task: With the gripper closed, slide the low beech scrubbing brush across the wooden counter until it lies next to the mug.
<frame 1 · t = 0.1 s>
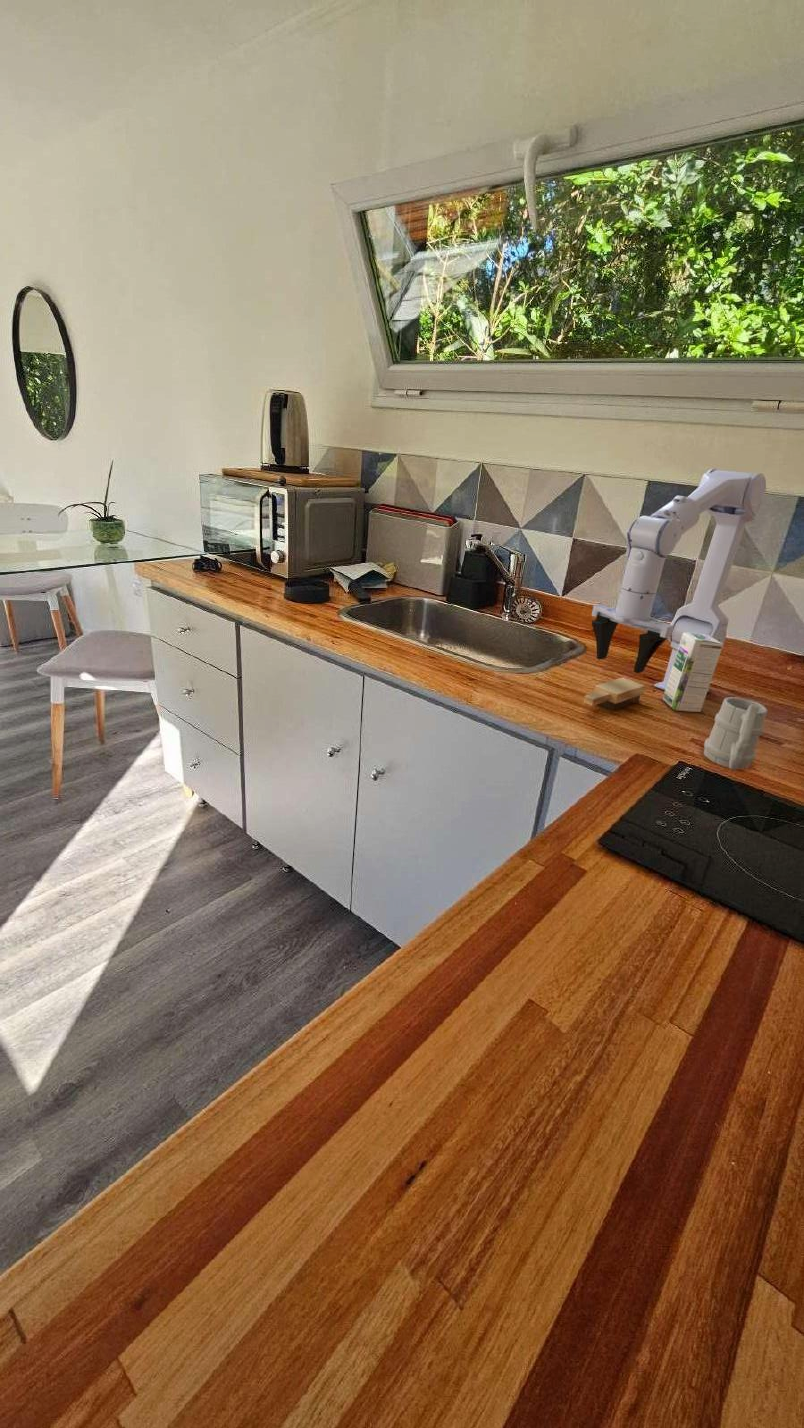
hand: (619, 664, 107), 10 cm above the worktop, tool pointing down, fingers open, 7 cm apart
scrub brush: (616, 702, 118), on the worktop
syrup box: (680, 707, 120), on the worktop
mug: (727, 764, 97), on the worktop
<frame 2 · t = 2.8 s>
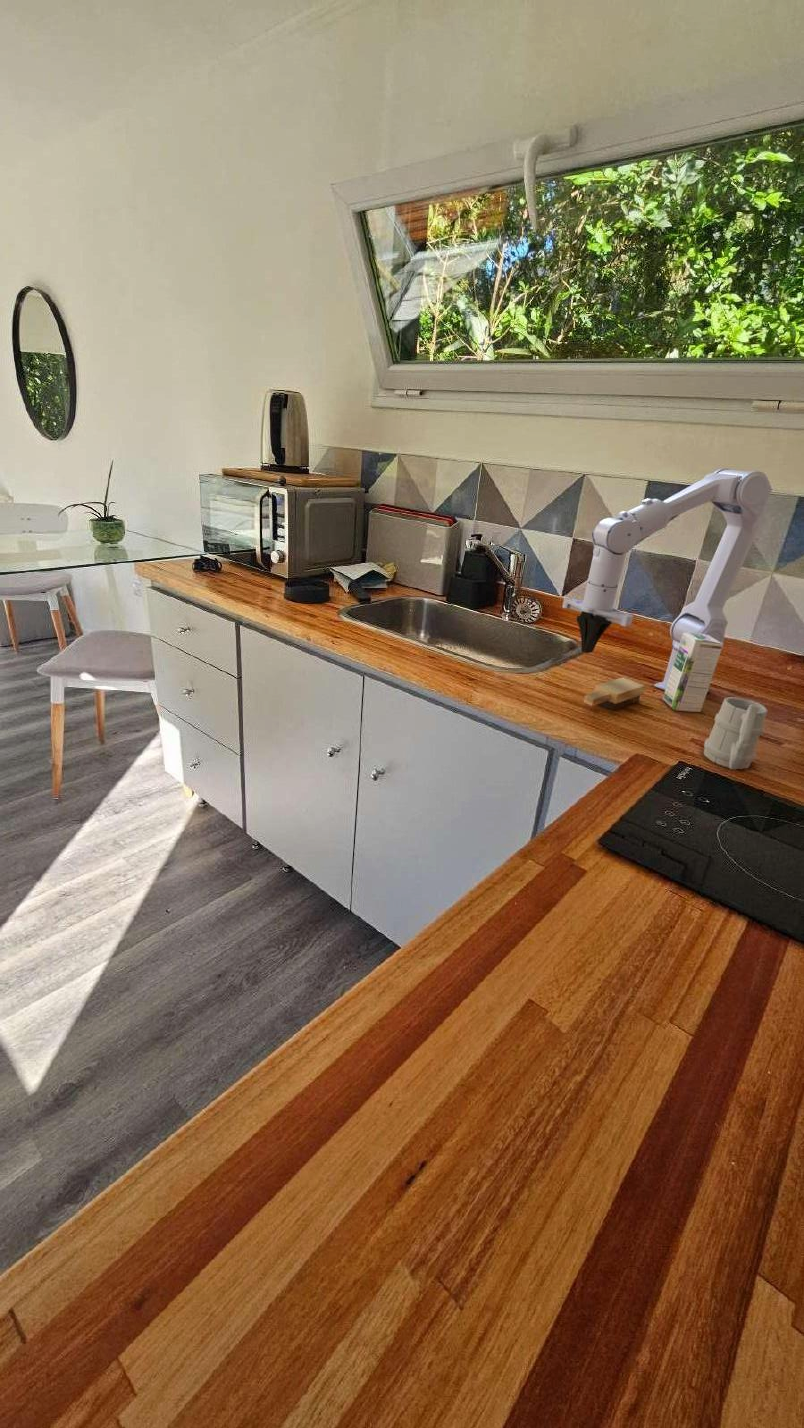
hand: (587, 651, 120), 8 cm above the worktop, tool pointing down, fingers closed
nothing on the worktop moved.
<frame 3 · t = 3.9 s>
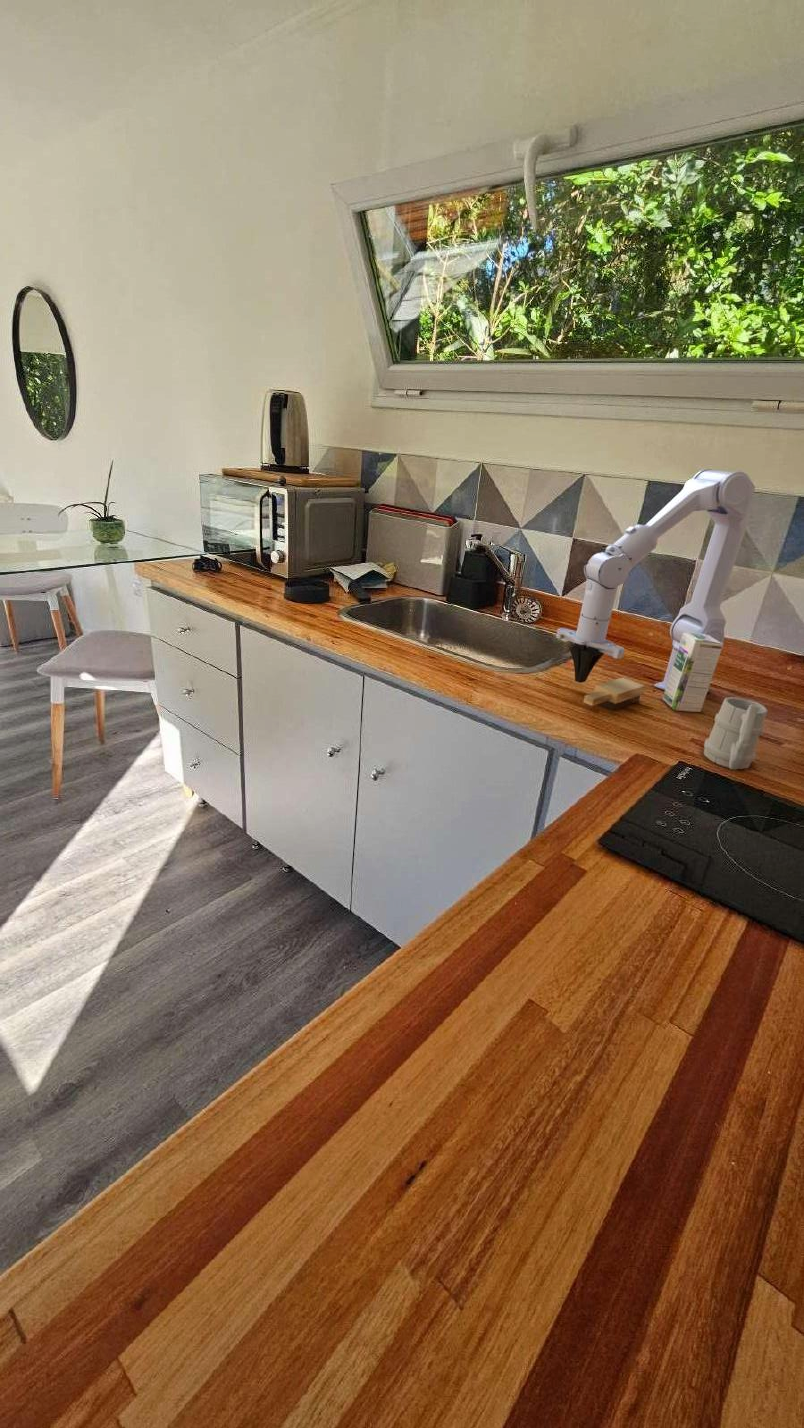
hand: (580, 681, 122), 2 cm above the worktop, tool pointing down, fingers closed
nothing on the worktop moved.
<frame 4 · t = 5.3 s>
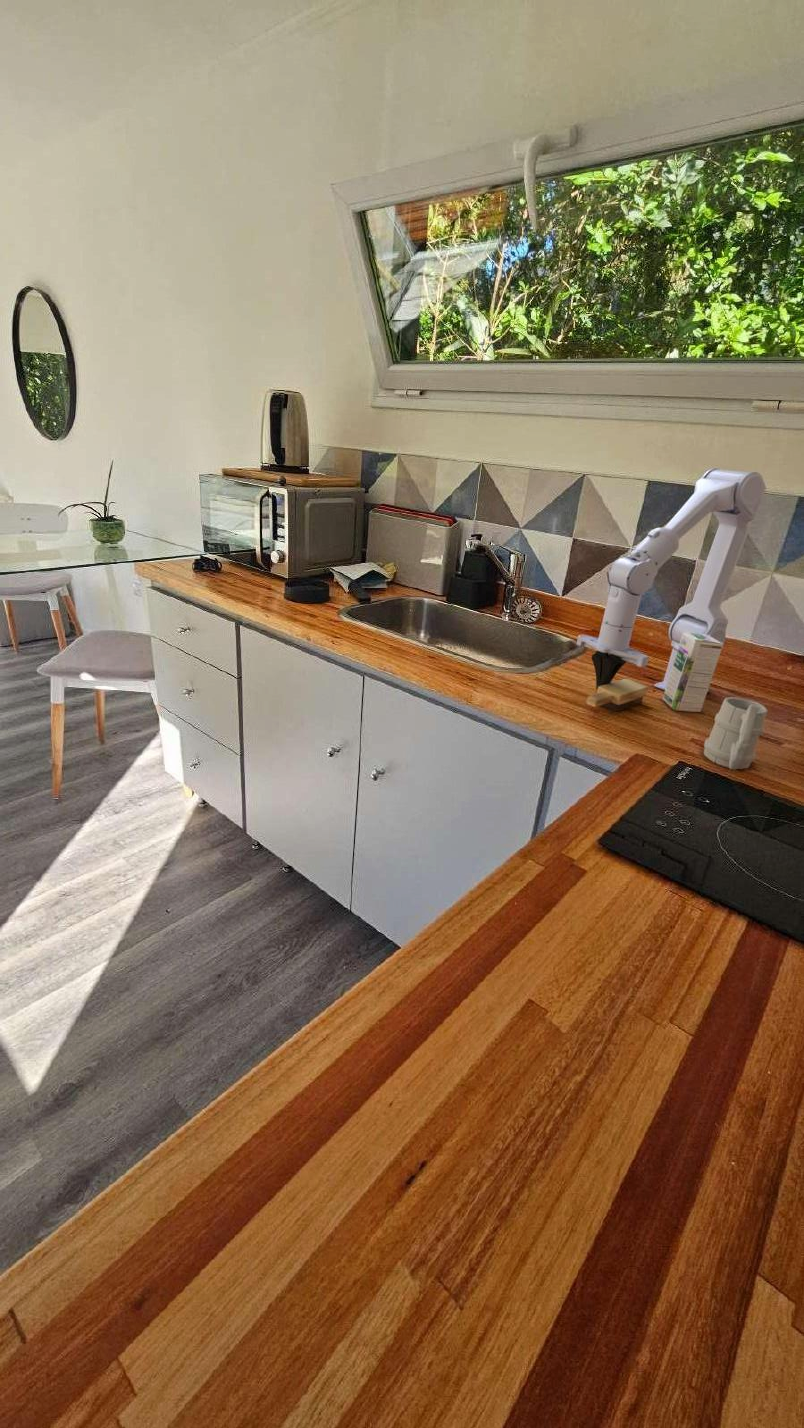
hand: (601, 689, 119), 2 cm above the worktop, tool pointing down, fingers closed
scrub brush: (619, 703, 118), on the worktop, touching gripper
everything else where it was.
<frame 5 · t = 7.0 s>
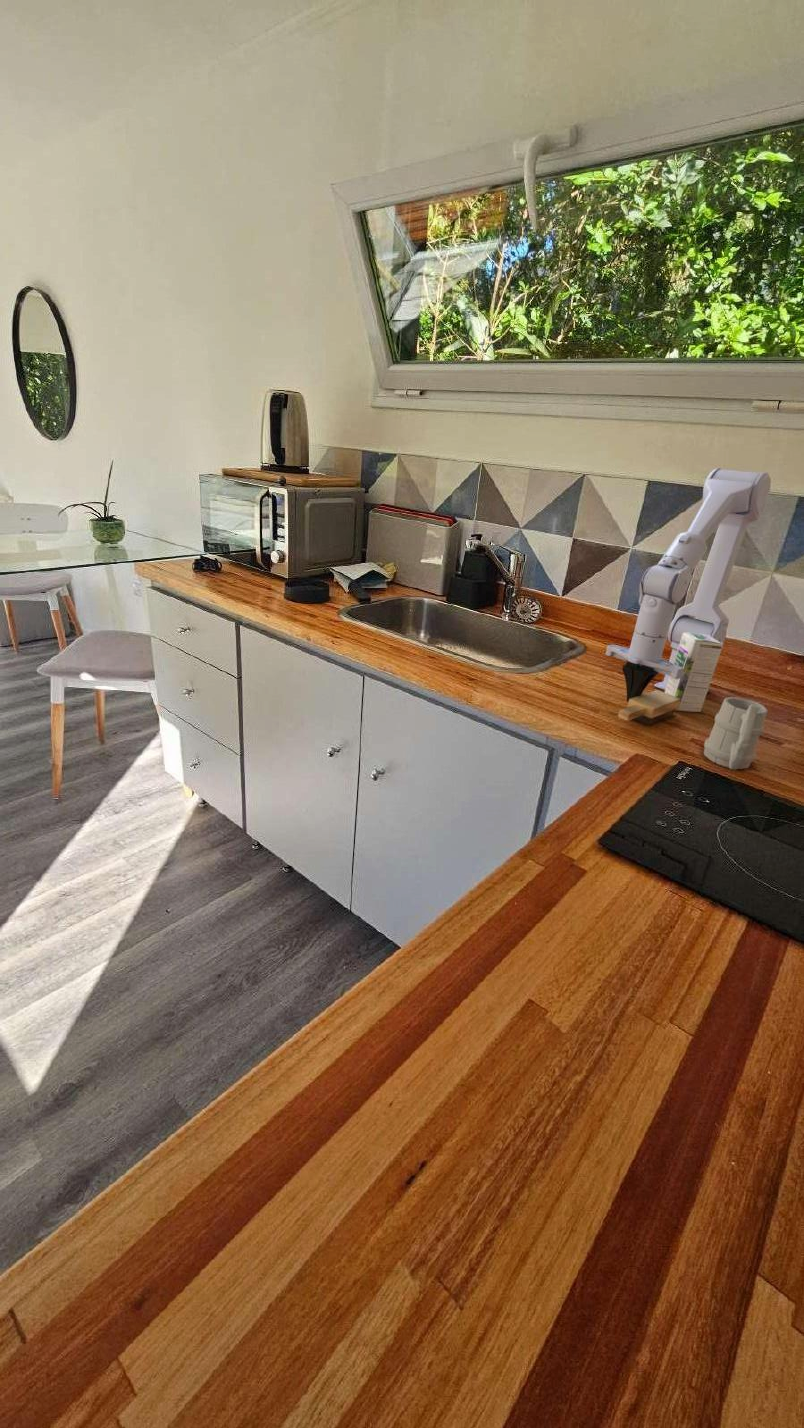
hand: (631, 701, 114), 2 cm above the worktop, tool pointing down, fingers closed
scrub brush: (650, 716, 113), on the worktop, touching gripper
everything else where it was.
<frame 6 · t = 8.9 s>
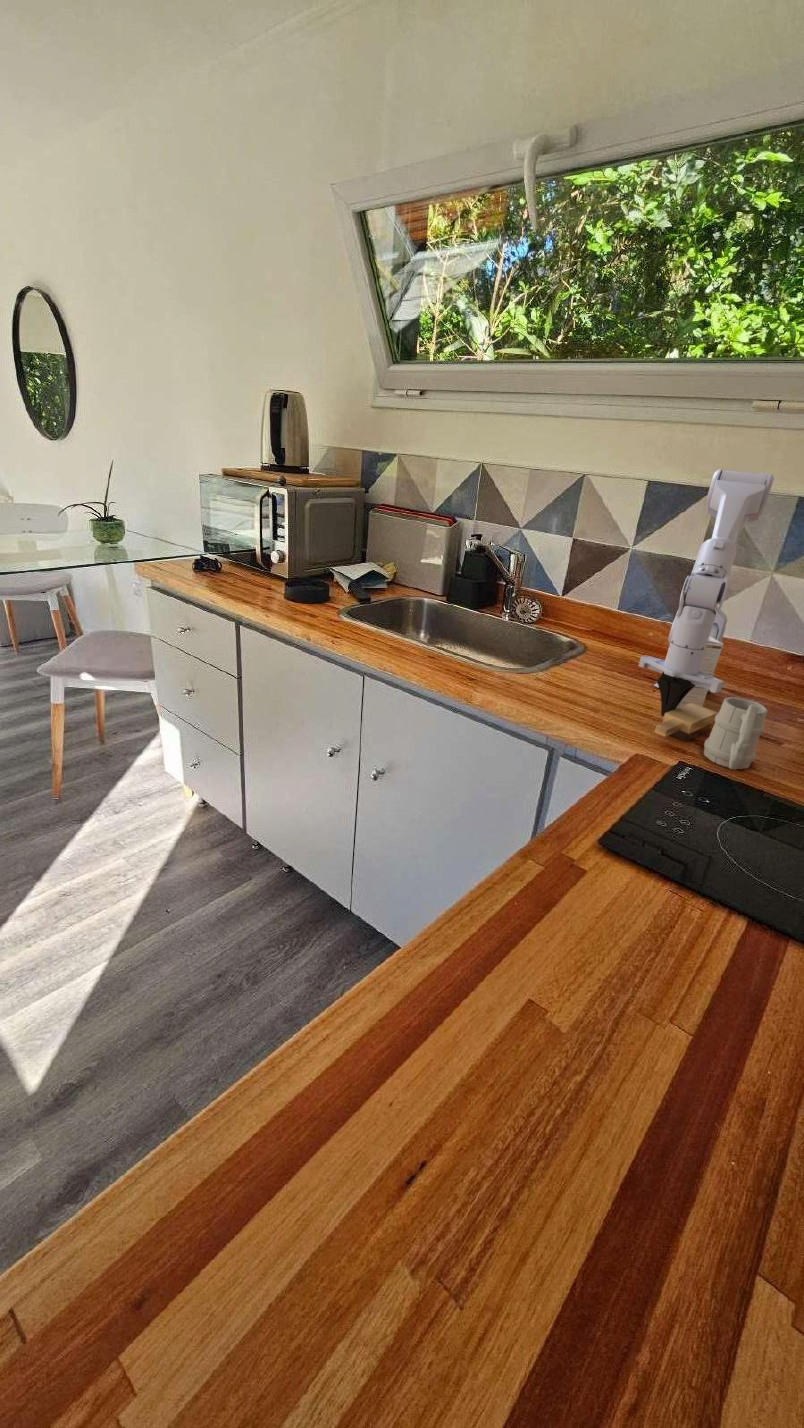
hand: (666, 715, 109), 2 cm above the worktop, tool pointing down, fingers closed
scrub brush: (686, 730, 108), on the worktop, touching gripper
everything else where it was.
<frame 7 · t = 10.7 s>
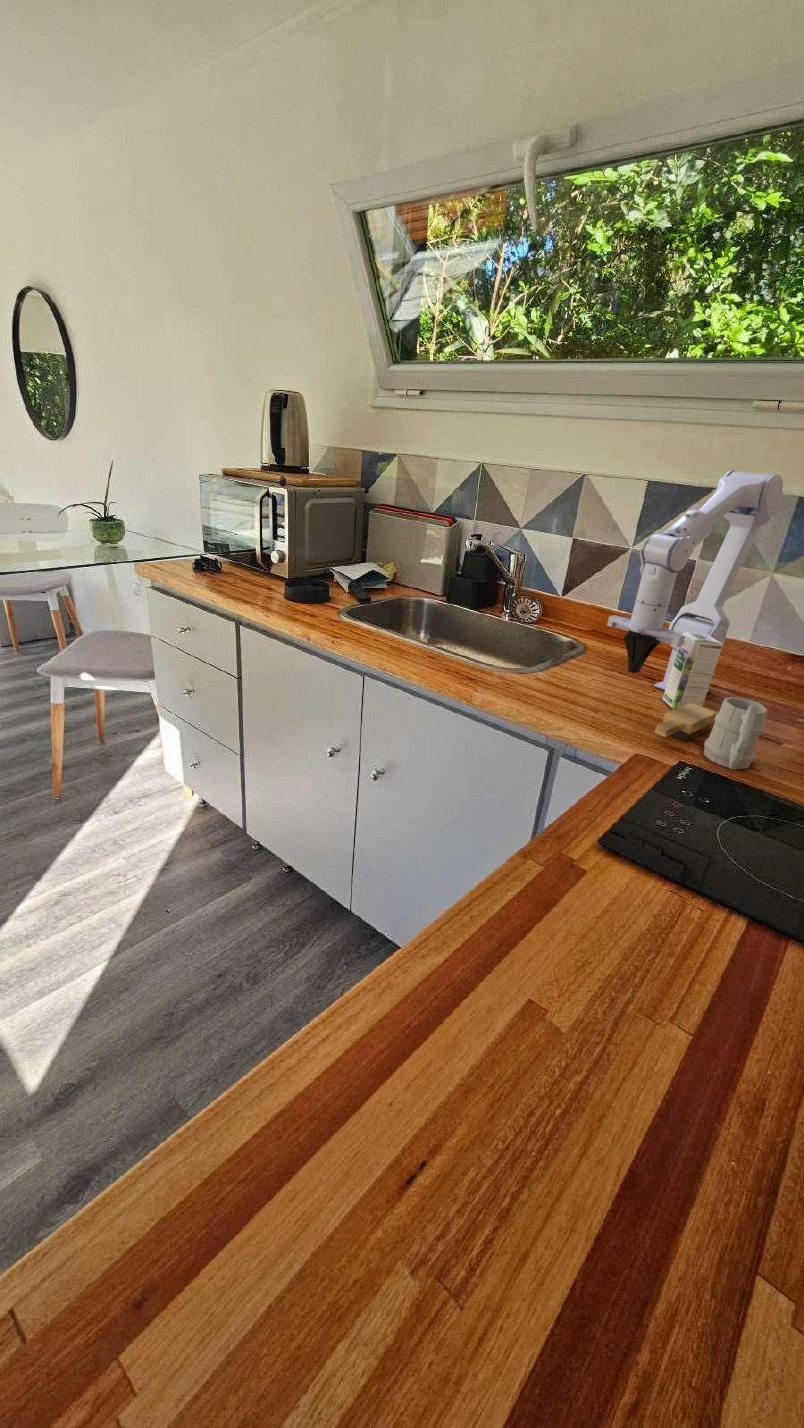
hand: (633, 671, 115), 7 cm above the worktop, tool pointing down, fingers closed
scrub brush: (686, 730, 108), on the worktop
everything else where it was.
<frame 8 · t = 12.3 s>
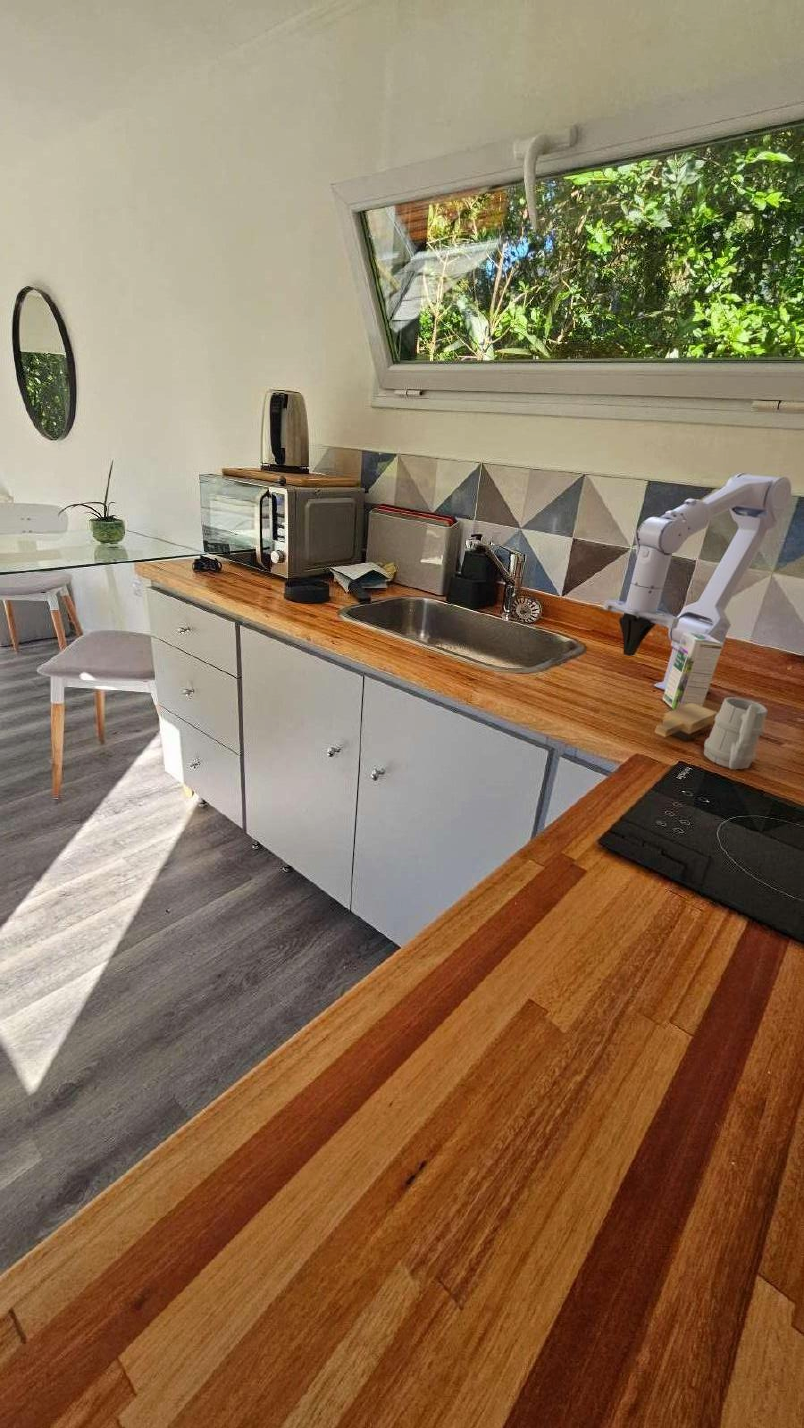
hand: (628, 654, 116), 9 cm above the worktop, tool pointing down, fingers closed
nothing on the worktop moved.
at the end: scrub brush 12.3 cm from the mug (horizontally); scrub brush moved 14.6 cm from its start; scrub brush tilted 0° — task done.
